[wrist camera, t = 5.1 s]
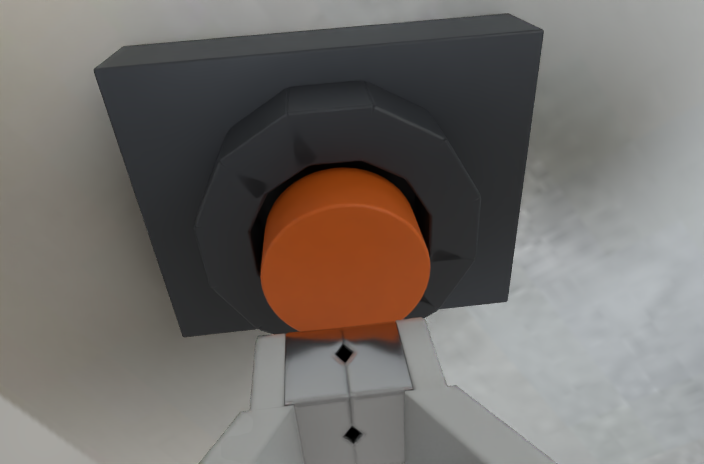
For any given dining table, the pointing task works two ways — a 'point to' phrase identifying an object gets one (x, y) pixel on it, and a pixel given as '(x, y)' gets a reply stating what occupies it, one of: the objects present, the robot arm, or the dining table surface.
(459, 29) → the block
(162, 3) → the dining table surface
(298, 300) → the cylinder
